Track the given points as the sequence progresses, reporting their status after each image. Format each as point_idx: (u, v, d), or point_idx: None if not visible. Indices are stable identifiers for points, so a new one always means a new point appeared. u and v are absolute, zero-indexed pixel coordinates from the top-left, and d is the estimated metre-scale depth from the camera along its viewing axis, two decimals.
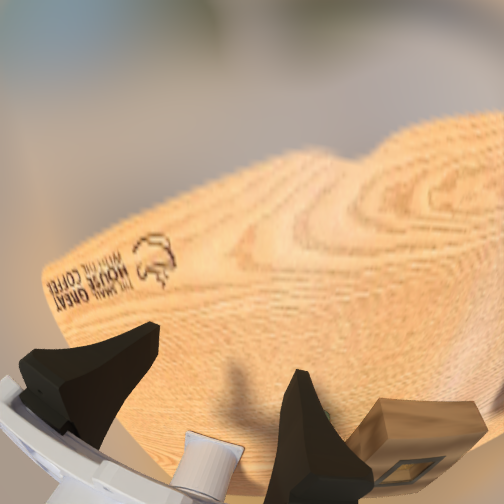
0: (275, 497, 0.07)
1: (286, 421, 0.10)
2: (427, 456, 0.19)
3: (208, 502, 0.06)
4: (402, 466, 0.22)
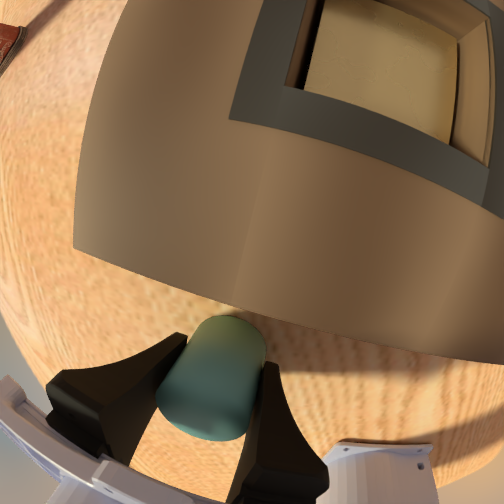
0: (234, 489, 0.07)
1: (253, 413, 0.11)
2: None
3: (208, 502, 0.06)
4: (431, 62, 0.06)
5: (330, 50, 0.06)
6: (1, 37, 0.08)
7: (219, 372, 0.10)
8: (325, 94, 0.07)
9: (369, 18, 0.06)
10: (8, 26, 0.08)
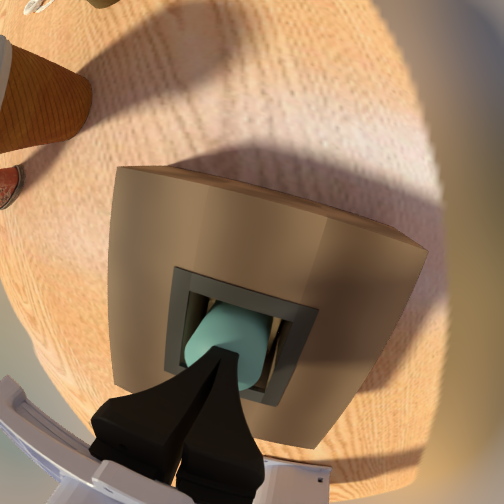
0: None
1: None
2: (163, 319, 0.15)
3: None
4: None
5: None
6: (5, 185, 0.18)
7: (239, 326, 0.13)
8: None
9: None
10: (7, 172, 0.18)
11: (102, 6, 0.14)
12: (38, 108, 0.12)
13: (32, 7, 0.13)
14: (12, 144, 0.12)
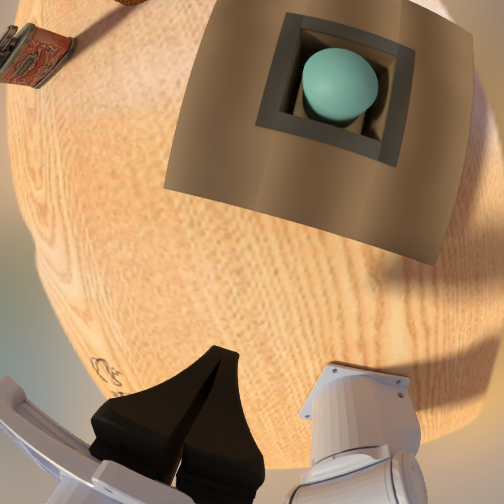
0: None
1: None
2: (267, 58, 0.12)
3: None
4: None
5: None
6: (57, 45, 0.15)
7: None
8: None
9: None
10: (62, 36, 0.15)
11: None
12: None
13: None
14: None
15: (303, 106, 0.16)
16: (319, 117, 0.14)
